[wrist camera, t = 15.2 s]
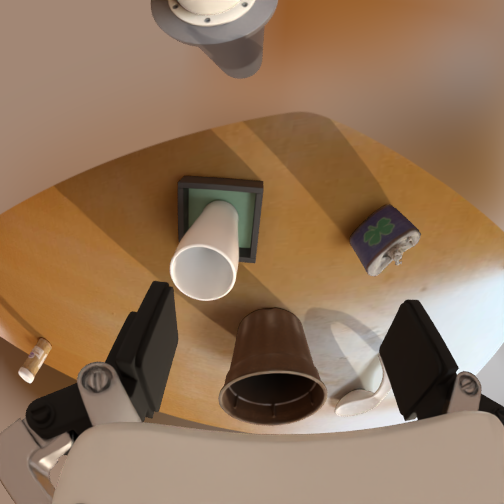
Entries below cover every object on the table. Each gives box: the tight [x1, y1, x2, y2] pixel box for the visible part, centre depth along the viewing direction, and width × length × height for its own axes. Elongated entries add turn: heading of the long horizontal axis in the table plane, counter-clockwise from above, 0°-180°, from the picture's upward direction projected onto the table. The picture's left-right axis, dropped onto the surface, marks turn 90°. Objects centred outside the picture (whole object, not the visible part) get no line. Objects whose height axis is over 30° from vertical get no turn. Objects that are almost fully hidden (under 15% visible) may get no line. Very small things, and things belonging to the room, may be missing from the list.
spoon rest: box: [335, 355, 391, 416], centre depth 58 cm, size 24×12×7 cm, turn 170°
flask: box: [350, 204, 421, 276], centre depth 36 cm, size 9×3×11 cm, turn 135°
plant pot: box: [219, 308, 327, 426], centre depth 45 cm, size 16×16×16 cm
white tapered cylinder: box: [170, 200, 239, 301], centre depth 34 cm, size 7×7×15 cm
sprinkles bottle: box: [19, 338, 52, 383], centre depth 53 cm, size 5×5×13 cm
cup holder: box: [178, 176, 263, 263], centre depth 40 cm, size 11×11×4 cm
